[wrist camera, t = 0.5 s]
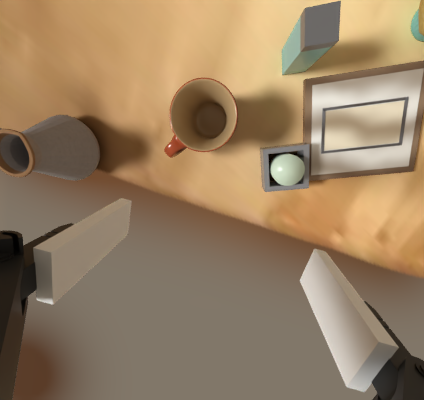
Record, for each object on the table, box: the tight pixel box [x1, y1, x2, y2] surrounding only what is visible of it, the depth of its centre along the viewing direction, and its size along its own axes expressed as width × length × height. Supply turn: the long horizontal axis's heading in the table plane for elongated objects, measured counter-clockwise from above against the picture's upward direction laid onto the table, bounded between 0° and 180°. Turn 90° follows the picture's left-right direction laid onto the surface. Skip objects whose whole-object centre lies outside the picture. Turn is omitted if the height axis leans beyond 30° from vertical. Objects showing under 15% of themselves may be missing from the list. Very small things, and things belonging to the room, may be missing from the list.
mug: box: [164, 78, 238, 158], centre depth 31 cm, size 12×9×10 cm
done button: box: [269, 153, 305, 186], centre depth 33 cm, size 5×5×4 cm
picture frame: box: [303, 61, 424, 181], centre depth 33 cm, size 16×17×1 cm
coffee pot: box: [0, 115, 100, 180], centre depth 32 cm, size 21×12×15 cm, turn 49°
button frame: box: [260, 143, 309, 192], centre depth 35 cm, size 7×7×4 cm
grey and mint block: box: [282, 1, 341, 75], centre depth 26 cm, size 3×3×11 cm
